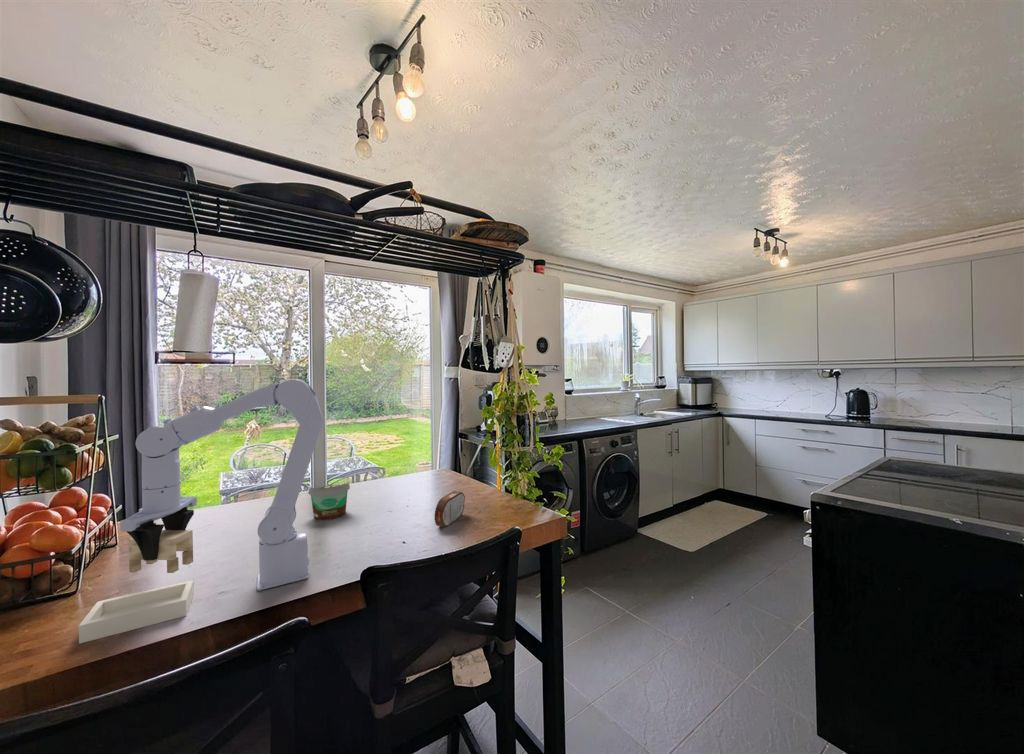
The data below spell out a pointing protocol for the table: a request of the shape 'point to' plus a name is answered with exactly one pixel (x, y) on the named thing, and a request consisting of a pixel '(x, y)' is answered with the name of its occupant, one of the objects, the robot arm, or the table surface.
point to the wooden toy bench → (165, 550)
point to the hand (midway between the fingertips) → (162, 553)
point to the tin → (449, 508)
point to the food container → (329, 501)
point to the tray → (136, 611)
